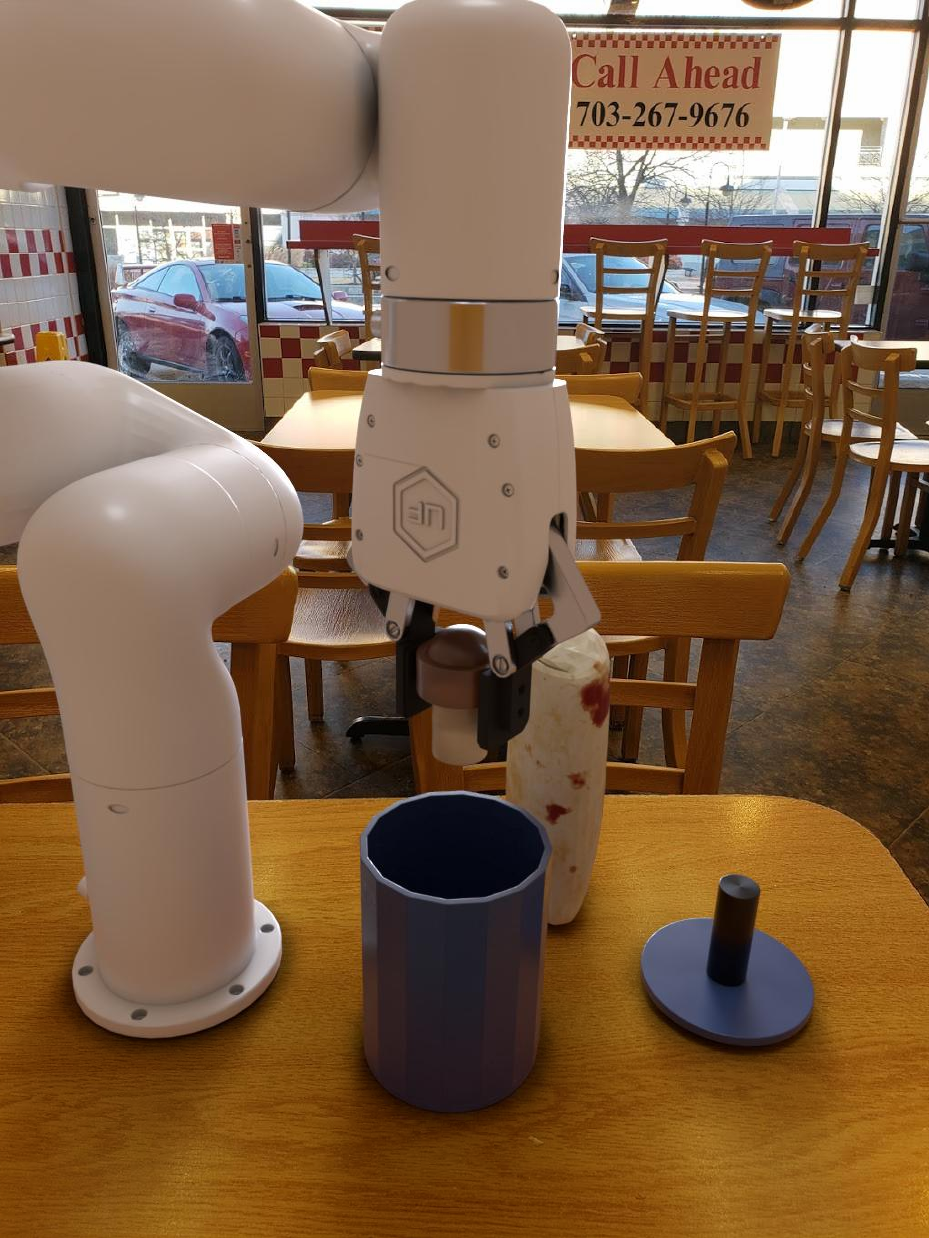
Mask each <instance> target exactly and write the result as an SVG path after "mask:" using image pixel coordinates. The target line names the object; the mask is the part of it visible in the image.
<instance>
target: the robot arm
mask: <svg viewBox="0 0 929 1238" xmlns="http://www.w3.org/2000/svg"><path fill="white" fill-rule="evenodd" d="M571 43H572V42H571V39H570V36H569V31H568V28H567V27H566V25H565V23H564V21H563V20H562V18H561V17H559V16H558V15H557V14H556V13H555V11H553V10H552V9H551V8H549V7H547V6H546V5H544V4H541V3H538V2H536V1H533V0H412V1H410V2H406V3H404V4H402V5H401V6H399V7H398V8H397V9H396V10H394V11H393V12H392V13H391V14H390V16H389V18H388V19H387V21H386V22H385V24H384V25H383V28H382V31H376V30H375V31H374V30H369V29H365V28H362V27H360V26H357V25H355V24H352V23H349V22H347V21H345V20H341V19H339V18H336V17H334V16H331V15H328V14H325V13H324V12H322V11H320V10H318V9H316V8H315V7H313V6H311V5H309V4H307V3H305V2H304V1H301V0H0V190H5V191H13V192H20V193H21V192H23V193H29V194H35V193H40V192H44V191H45V190H48V189H50V188H52V187H55V186H60V187H69V188H78V189H85V190H97V191H103V192H112V193H119V194H120V193H121V194H128V195H139V196H146V197H152V198H153V197H154V198H161V199H169V200H177V201H185V202H193V203H200V204H206V205H207V204H208V205H215V206H216V205H217V206H225V207H227V206H228V207H240V208H257V209H265V210H266V209H267V210H276V211H277V210H278V211H286V212H289V213H298V214H299V213H300V214H311V215H319V216H320V215H321V216H338V215H340V216H341V215H351V214H358V213H365V212H373V211H377V210H379V211H378V212H379V213H378V214H379V262H380V263H379V264H380V265H379V266H380V267H379V268H380V295H381V296H380V308H377V309H375V310H374V311H373V312H372V314H371V316H370V320H369V329H370V332H371V334H372V335H373V336H374V338H376V339H378V340H380V362H381V363H380V368H379V369H372V370H369V371H368V373H367V377H366V381H365V385H364V390H363V393H362V399H361V404H360V411H359V416H358V422H357V428H356V437H355V448H354V460H353V474H352V475H353V476H352V491H351V493H352V496H351V545H350V547H349V549H348V551H347V552H346V559H345V560H346V562H347V565H348V566H349V567H350V569H351V570H352V571H353V572H354V573H355V575H356V576H357V577H358V578H359V579H360V581H361V582H362V583H363V584H364V585H365V587H366V588H368V592H369V595H370V597H371V599H372V600H373V602H374V603H375V605H376V606H377V608H378V610H379V611H380V613H381V614H382V616H383V618H384V622H383V623H384V624H383V629H384V630H383V631H384V633H385V636H386V637H387V638H388V639H389V640H390V641H391V642H395V713H396V715H398V716H399V717H401V718H404V719H410V718H413V717H414V716H416V715H419V714H421V713H423V712H424V711H426V710H428V709H430V708H432V704H431V703H428V702H427V701H425V700H423V699H422V698H421V697H420V696H419V695H418V693H417V691H416V651H417V649H418V647H419V646H420V645H421V644H422V643H424V642H426V641H428V640H431V639H433V637H434V636H435V635H436V634H437V633H438V632H440V631H441V630H443V629H445V628H444V627H441V626H436V624H437V622H438V619H439V614H440V610H441V608H443V609H446V610H449V611H453V612H457V613H460V614H462V615H466V616H470V617H474V618H477V619H480V620H482V623H483V624H482V625H483V630H484V631H483V632H485V637H486V643H487V649H488V656H489V662H490V667H491V668H490V669H488V670H486V671H484V672H482V673H481V675H480V677H479V688H478V722H477V743H478V744H479V747H480V748H481V749H484V750H486V751H487V752H489V753H491V752H493V751H495V750H496V749H498V748H500V747H501V746H503V745H504V744H506V743H508V741H509V740H511V739H512V738H514V737H515V736H517V735H518V734H520V733H521V732H523V730H524V728H525V726H526V725H527V723H528V720H529V715H530V698H531V679H532V663H534V662H535V661H537V660H539V659H540V658H542V657H543V655H545V654H546V653H547V652H549V651H550V650H551V649H553V648H554V647H555V646H557V645H558V644H560V643H562V642H565V641H567V640H569V639H571V638H573V637H575V636H578V635H580V634H582V633H584V632H586V631H588V630H589V629H591V628H592V629H594V628H595V627H597V626H598V625H599V624H600V623H601V622H602V614H601V611H600V609H599V607H598V604H597V603H596V601H595V598H594V597H593V595H592V592H591V591H590V589H589V586H588V584H587V582H586V581H585V578H584V576H583V574H582V573H581V571H580V568H579V567H578V564H577V562H576V560H575V559H576V549H577V548H576V547H577V545H576V544H577V520H578V519H577V518H578V516H577V515H578V514H577V511H578V510H577V506H578V505H577V503H578V502H577V500H578V499H577V464H576V450H575V435H574V427H573V418H572V411H571V403H570V399H569V392H568V386H567V381H566V380H562V379H557V378H556V368H557V367H556V366H557V349H558V332H559V313H560V300H559V298H560V292H561V291H560V288H561V274H562V258H563V257H562V256H563V255H562V254H563V240H564V239H563V238H564V237H563V236H564V222H565V221H564V220H565V206H566V205H565V203H566V202H565V201H566V186H567V185H566V184H567V166H568V149H569V148H568V147H569V129H570V114H571V113H570V110H571V93H572V92H571V91H572V78H573V77H572V74H573V73H572V69H573V65H572V64H573V49H572V44H571ZM303 535H304V514H303V509H302V505H301V501H300V499H299V495H298V493H297V491H296V489H295V487H294V485H293V484H292V482H291V480H290V478H289V477H288V476H287V475H286V473H285V472H284V470H283V469H282V468H281V467H280V466H279V465H278V464H277V463H276V462H275V461H274V460H273V459H272V458H271V457H270V456H268V454H266V453H265V452H263V451H262V450H261V449H260V448H259V447H257V446H255V444H253V443H252V442H249V441H247V440H246V439H244V438H243V437H241V436H240V435H237V434H236V433H234V432H232V431H231V430H228V429H227V428H225V427H223V426H222V425H220V424H218V423H215V422H214V421H212V420H210V419H209V418H207V417H206V416H205V417H204V416H203V415H201V414H200V413H197V412H196V411H194V410H192V409H190V408H189V407H186V405H185V406H184V405H183V404H181V403H180V402H177V401H176V400H174V399H172V398H170V397H168V396H166V395H165V394H163V393H162V392H159V391H158V390H157V389H154V388H152V387H150V386H148V385H146V384H145V383H142V382H141V381H140V380H137V379H135V378H133V377H131V376H129V375H127V374H125V373H123V372H120V371H118V370H115V369H113V368H110V367H106V366H103V365H100V364H97V363H92V362H88V361H81V360H68V359H67V360H66V359H64V360H47V361H38V362H29V363H23V364H15V365H6V366H0V547H3V546H8V545H9V546H10V545H12V544H15V543H18V547H17V554H16V573H17V579H18V583H19V588H20V591H21V595H22V598H23V602H24V603H25V607H26V610H27V613H28V614H29V618H30V619H31V622H32V625H33V627H34V630H35V631H36V635H37V637H38V640H39V642H40V645H41V647H42V650H43V653H44V656H45V659H46V662H47V665H48V669H49V672H50V675H51V679H52V683H53V687H54V692H55V697H56V700H57V705H58V711H59V715H60V722H61V727H62V733H63V740H64V745H65V752H66V758H67V764H68V769H69V776H70V782H71V791H72V796H73V803H74V808H75V817H76V823H77V831H78V836H79V843H80V850H81V856H82V857H81V858H82V863H83V864H82V865H83V870H84V876H83V877H82V878H81V879H80V880H79V882H78V883H77V886H76V891H77V893H78V894H79V895H80V896H82V897H83V898H84V899H85V900H87V901H88V903H89V911H90V918H91V924H92V925H91V926H92V931H91V932H89V934H88V935H87V937H86V938H85V939H84V941H83V942H82V943H81V944H80V947H79V948H78V951H77V953H76V955H75V957H74V958H73V959H74V960H73V963H72V970H71V978H72V987H73V992H74V997H75V999H76V1003H77V1005H78V1006H79V1007H80V1009H81V1011H82V1012H83V1014H84V1015H85V1016H86V1017H87V1018H89V1019H90V1020H91V1021H92V1022H93V1023H94V1024H96V1025H98V1026H100V1027H102V1028H103V1029H106V1030H107V1031H109V1032H112V1033H116V1034H119V1035H123V1036H127V1037H131V1038H143V1039H163V1038H174V1037H180V1036H184V1035H190V1034H194V1033H197V1032H200V1031H203V1030H206V1029H209V1028H212V1027H214V1026H217V1025H219V1024H221V1023H223V1022H225V1021H227V1020H229V1019H231V1018H233V1017H235V1016H236V1015H238V1014H239V1013H241V1012H242V1011H243V1010H245V1009H247V1008H248V1007H250V1006H251V1005H252V1004H253V1003H254V1002H255V1001H256V1000H258V998H259V997H260V996H261V995H263V994H264V993H265V991H266V990H267V989H268V987H269V986H270V985H271V983H272V982H273V981H274V979H275V977H276V975H277V972H278V970H279V968H280V966H281V960H282V956H283V955H282V954H283V946H282V945H283V943H282V942H283V938H282V931H281V927H280V924H279V922H278V921H277V919H276V917H275V915H274V914H273V913H272V912H271V910H269V908H268V907H266V905H264V904H263V903H262V902H260V901H258V900H257V899H255V895H254V891H255V890H254V880H253V879H254V877H253V864H252V850H251V836H250V821H249V808H248V795H247V793H248V792H247V780H246V779H247V778H246V766H245V765H246V764H245V753H244V752H245V749H244V738H243V730H242V728H243V727H242V718H241V717H242V716H241V707H240V702H239V701H240V700H239V697H238V693H237V692H238V691H237V689H236V685H235V683H234V681H233V677H232V676H231V674H230V671H229V670H228V668H227V666H226V665H225V664H224V662H223V659H222V658H221V656H220V655H219V653H218V650H217V648H216V646H215V643H214V640H213V635H212V634H213V633H212V627H213V623H214V621H215V620H216V619H218V618H219V617H221V616H222V615H223V614H225V613H226V612H228V611H229V610H230V609H231V608H232V607H234V606H236V605H237V604H239V603H240V602H242V601H243V600H244V601H245V599H247V598H248V597H250V596H252V595H253V594H255V593H257V592H258V591H260V590H261V589H263V588H265V587H266V586H268V585H270V584H271V582H273V581H275V580H276V579H277V578H278V577H280V576H281V575H282V574H283V572H284V571H286V570H287V568H288V567H289V566H290V565H291V564H292V562H293V560H294V558H295V557H296V555H297V553H298V551H299V550H300V547H301V544H302V539H303ZM538 599H545V600H547V599H548V600H549V599H550V601H551V603H552V606H553V613H552V615H551V616H550V617H548V618H546V619H544V620H542V621H541V614H540V607H539V600H538ZM512 623H513V624H512ZM513 629H514V630H513ZM514 634H515V635H514ZM514 636H515V637H514Z"/></svg>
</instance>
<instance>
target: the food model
mask: <svg viewBox="0 0 929 1238" xmlns="http://www.w3.org/2000/svg"><path fill="white" fill-rule="evenodd" d="M610 696H611V661H610V654H609V650H608V648H607V644H606V642H605V640H604V639H603V638H602V636H601V635H600V634H599V633H598V632H597V630H595V629H594V628H591V629H589V630H588V631H586V632H584V633H582V634H580V635H578V636H575V637H573V638H571V639H569V640H567V641H565V642H562V643H560V644H558V645H557V646H555V647H554V648H553V649H551V650H550V651H549V652H547V653H546V654H545V655H543V657H542V658H540V659H539V660H537V661H535V662H534V663H532V679H531V698H530V715H529V720H528V723H527V725H526V726H525V728H524V730H523V732H521V733H520V734H518V735H517V736H515V737H514V738H512V739H511V740H509V741H507V751H506V764H505V765H506V767H505V801H508V802H510V803H512V804H514V805H517V806H519V807H521V808H524V809H526V810H527V811H528V812H529V813H530V814H531V815H532V816H533V817H534V818H535V819H537V820H538V821H539V822H540V823H541V824H542V825H543V826H544V827H545V829H546V832H547V834H548V837H549V840H550V843H551V846H552V850H553V851H552V865H551V879H550V894H549V908H548V923H547V924H550V925H553V926H558V925H565V924H568V923H571V922H572V921H573V920H574V919H575V918H576V916H577V915H578V913H579V911H580V909H581V907H582V905H583V904H584V903H583V902H584V900H585V898H586V895H587V893H588V890H589V887H590V886H589V885H590V881H591V876H592V873H593V869H594V864H595V862H596V861H595V860H596V857H597V853H598V848H599V841H600V836H601V830H602V822H603V813H604V805H605V793H606V780H607V763H608V762H607V760H608V747H609V746H608V745H609V728H610V727H609V726H610V703H611V702H610V701H611V700H610V699H611V697H610Z"/></svg>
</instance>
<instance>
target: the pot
mask: <svg viewBox="0 0 929 1238" xmlns="http://www.w3.org/2000/svg"><path fill="white" fill-rule="evenodd" d="M552 851H553V850H552V846H551V843H550V840H549V837H548V834H547V832H546V829H545V827H544V826H543V825H542V824H541V823H540V822H539V821H538V820H537V819H535V818H534V817H533V816H532V815H531V814H530V813H529V812H528V811H527V810H526V809H524V808H521V807H519V806H517V805H514V804H512V803H510V802H508V801H506V799H503V798H501V797H498V796H495V795H489V794H483V793H477V792H472V791H465V790H453V791H452V790H451V791H433V792H431V791H430V792H425V793H422V794H418V795H415V796H411V797H408V798H404V799H399V800H398V801H396V802H394V803H392V804H390V805H389V806H387V807H385V808H384V809H382V810H381V811H379V812H377V813H375V814H374V815H373V816H372V818H371V819H370V820H369V821H368V823H367V824H366V827H365V828H364V830H363V831H362V832H361V834H360V835H359V870H360V871H359V872H360V873H359V878H360V923H361V926H360V927H361V928H360V929H361V930H360V931H361V975H362V978H361V980H362V981H361V983H362V1022H363V1023H362V1026H363V1029H362V1030H363V1053H364V1057H365V1060H366V1063H367V1065H368V1067H369V1070H370V1072H371V1073H372V1075H373V1076H374V1077H375V1079H376V1081H377V1082H378V1083H379V1084H380V1085H381V1086H382V1087H383V1088H384V1089H385V1090H386V1091H387V1092H389V1093H390V1094H391V1095H393V1097H395V1098H397V1099H398V1100H400V1101H402V1102H404V1103H406V1104H408V1105H410V1106H413V1107H415V1108H419V1109H423V1110H425V1111H426V1110H427V1111H431V1112H436V1113H448V1114H450V1113H451V1114H452V1113H454V1114H455V1113H466V1112H473V1111H477V1110H480V1109H485V1108H487V1107H489V1106H492V1105H494V1104H497V1103H498V1102H500V1101H502V1100H504V1099H506V1098H508V1097H509V1096H510V1095H512V1093H514V1092H515V1091H516V1090H517V1089H518V1088H519V1087H521V1086H522V1084H523V1083H524V1082H525V1081H526V1079H527V1078H528V1076H529V1075H530V1073H531V1072H532V1070H533V1067H534V1065H535V1062H536V1060H537V1055H538V1054H537V1053H538V1046H539V1042H540V1038H541V1037H540V1036H541V1023H542V1022H541V1021H542V1008H543V1007H542V1006H543V994H544V980H545V979H544V978H545V964H546V952H547V951H546V950H547V936H548V924H549V923H548V908H549V894H550V879H551V865H552Z"/></svg>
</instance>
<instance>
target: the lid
mask: <svg viewBox="0 0 929 1238" xmlns="http://www.w3.org/2000/svg"><path fill="white" fill-rule="evenodd" d="M760 896H761V887H760V885H759V883H757V882H756V881H755V880H754V879H753V878H751V877H749V876H746V875H744V874H743V875H742V874H738V873H730V874H726V875H724V876H722V877H721V878H719V881H718V886H717V892H716V900H715V905H714V913H713V918H712V917H694V918H685V919H681V920H677V921H673V922H670V923H669V924H667V925H665V926H662V927H661V928H659V929H658V930H657V931H655V932H654V933H653V934H652V935H651V936H649V938H648V940H647V941H646V942H645V943H644V946H643V949H642V951H641V956H640V966H639V967H640V968H639V969H640V970H639V972H640V978H641V982H642V984H643V987H644V989H645V991H646V994H647V995H648V996H649V998H650V999H651V1000H652V1003H653V1004H655V1006H656V1007H657V1008H658V1009H659V1011H661V1012H662V1013H663V1014H664V1015H665V1016H666V1017H668V1018H669V1019H670V1020H672V1021H673V1022H674V1023H676V1024H677V1025H679V1026H680V1027H681V1028H684V1029H685V1030H687V1031H689V1032H691V1033H693V1034H696V1035H697V1036H700V1037H703V1038H704V1039H705V1038H706V1039H707V1040H711V1041H714V1042H718V1043H722V1044H727V1045H733V1046H742V1047H760V1046H766V1045H773V1044H776V1043H779V1042H782V1041H785V1040H787V1039H789V1038H791V1037H792V1036H794V1035H796V1034H797V1033H798V1032H800V1031H801V1029H803V1028H804V1027H805V1025H806V1024H807V1023H808V1021H809V1019H810V1017H811V1015H812V1012H813V1007H814V1002H815V989H814V984H813V980H812V978H811V975H810V973H809V972H808V970H807V968H806V967H805V965H804V964H803V961H801V960H800V959H799V957H798V956H797V955H796V954H795V953H794V952H793V951H792V950H790V949H789V948H788V947H787V946H786V945H785V944H784V943H782V942H781V941H779V940H778V939H776V938H774V937H772V936H771V935H769V934H768V933H766V932H764V931H761V930H760V929H758V928H755V927H756V921H757V915H758V909H759V902H760V898H761V897H760Z"/></svg>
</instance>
